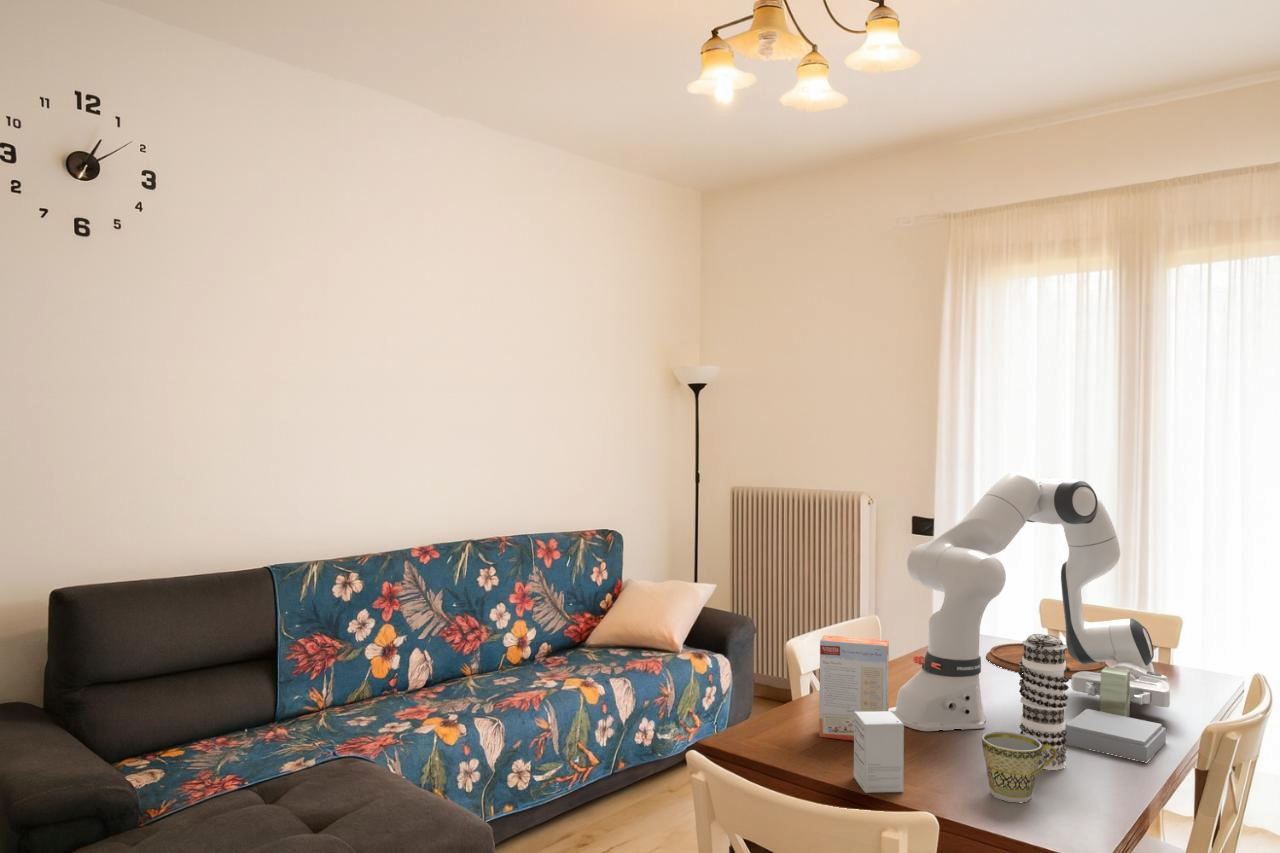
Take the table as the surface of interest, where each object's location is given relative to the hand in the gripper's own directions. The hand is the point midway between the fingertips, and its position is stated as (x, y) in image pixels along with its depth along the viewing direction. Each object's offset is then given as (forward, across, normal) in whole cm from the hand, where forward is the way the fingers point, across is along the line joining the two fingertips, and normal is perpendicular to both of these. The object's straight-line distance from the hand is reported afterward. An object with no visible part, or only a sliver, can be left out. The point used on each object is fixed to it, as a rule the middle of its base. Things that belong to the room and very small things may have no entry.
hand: (1114, 696), depth 200 cm
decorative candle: (+35, -6, +7) cm, 36 cm away
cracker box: (+46, -42, +7) cm, 62 cm away
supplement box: (+66, -27, +7) cm, 72 cm away
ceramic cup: (+55, -6, +7) cm, 55 cm away
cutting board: (-47, -25, +7) cm, 54 cm away
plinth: (+13, +2, +6) cm, 15 cm away
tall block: (-1, 0, +6) cm, 7 cm away
